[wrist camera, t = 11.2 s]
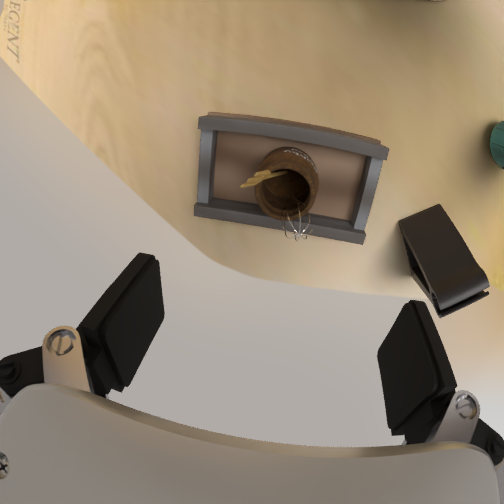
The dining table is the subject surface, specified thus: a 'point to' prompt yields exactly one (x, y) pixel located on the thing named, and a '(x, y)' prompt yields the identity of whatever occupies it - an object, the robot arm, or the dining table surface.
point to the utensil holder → (286, 185)
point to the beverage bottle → (498, 144)
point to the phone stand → (442, 261)
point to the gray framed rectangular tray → (287, 135)
